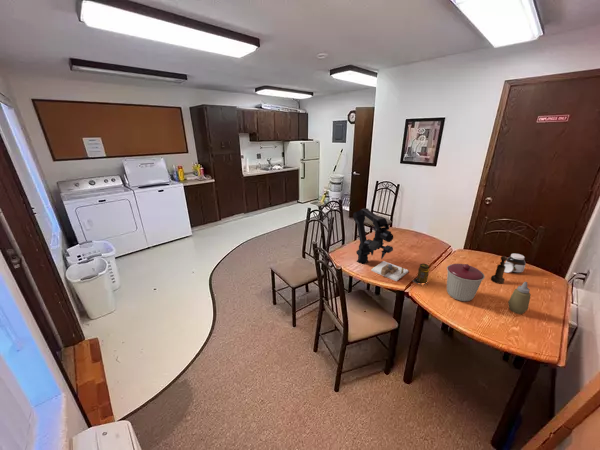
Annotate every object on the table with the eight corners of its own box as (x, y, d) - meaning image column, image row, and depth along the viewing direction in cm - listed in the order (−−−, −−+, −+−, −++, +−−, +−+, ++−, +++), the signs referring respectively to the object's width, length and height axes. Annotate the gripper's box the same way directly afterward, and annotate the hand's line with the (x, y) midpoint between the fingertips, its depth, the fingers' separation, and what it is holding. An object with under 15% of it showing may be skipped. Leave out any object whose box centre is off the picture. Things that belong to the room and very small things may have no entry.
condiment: (429, 282, 157) (432, 265, 153) (422, 286, 153) (425, 270, 149) (419, 277, 163) (421, 261, 159) (411, 281, 158) (414, 265, 154)
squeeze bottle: (502, 306, 133) (511, 278, 127) (516, 305, 134) (525, 277, 128) (515, 316, 126) (526, 287, 120) (530, 315, 126) (541, 286, 120)
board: (371, 270, 172) (371, 264, 170) (383, 262, 182) (384, 256, 181) (396, 281, 158) (397, 274, 157) (408, 271, 169) (409, 265, 167)
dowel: (400, 273, 166) (401, 268, 164) (401, 272, 166) (402, 267, 165) (402, 273, 165) (403, 268, 163) (403, 273, 166) (403, 268, 164)
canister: (436, 286, 152) (442, 257, 144) (465, 286, 151) (473, 256, 144) (452, 305, 135) (460, 273, 128) (485, 305, 134) (495, 273, 127)
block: (387, 265, 175) (387, 261, 174) (397, 269, 170) (398, 265, 169) (377, 272, 166) (377, 268, 165) (387, 277, 161) (388, 273, 160)
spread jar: (523, 270, 166) (528, 255, 162) (522, 277, 159) (527, 262, 154) (500, 265, 174) (505, 250, 170) (499, 271, 166) (503, 256, 162)
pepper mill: (501, 279, 158) (508, 254, 151) (505, 284, 152) (513, 259, 146) (489, 277, 160) (496, 253, 154) (492, 282, 154) (500, 258, 148)
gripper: (360, 235, 162) (358, 256, 167) (386, 244, 149) (383, 266, 154) (369, 231, 169) (367, 251, 174) (394, 238, 156) (391, 260, 161)
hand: (377, 257), depth 166 cm, fingers open, 7 cm apart
